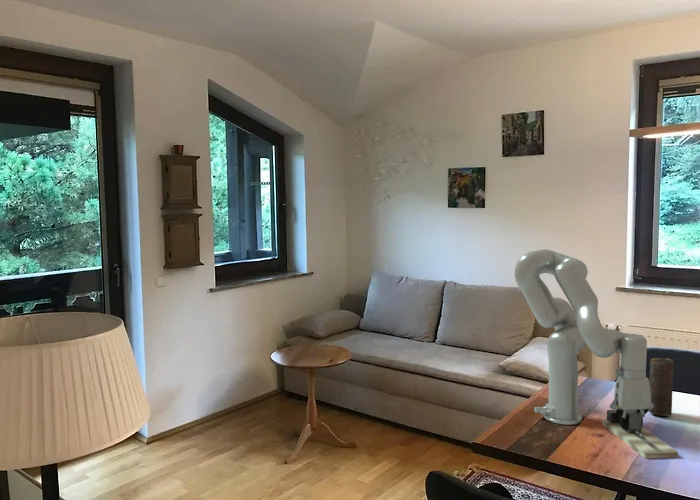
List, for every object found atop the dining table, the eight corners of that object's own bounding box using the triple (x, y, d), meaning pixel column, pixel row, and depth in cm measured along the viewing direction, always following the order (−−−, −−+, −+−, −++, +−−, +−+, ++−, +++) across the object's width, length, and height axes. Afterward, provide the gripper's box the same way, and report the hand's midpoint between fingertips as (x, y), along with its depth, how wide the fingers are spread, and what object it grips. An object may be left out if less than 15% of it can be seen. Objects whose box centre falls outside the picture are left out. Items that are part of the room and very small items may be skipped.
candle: (670, 420, 197) (673, 363, 195) (647, 416, 200) (648, 360, 199) (672, 413, 203) (674, 357, 201) (648, 409, 207) (650, 355, 205)
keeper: (631, 422, 191) (632, 406, 191) (611, 423, 191) (611, 407, 190) (625, 418, 195) (625, 402, 195) (605, 418, 195) (605, 402, 194)
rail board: (677, 457, 169) (678, 451, 169) (644, 458, 169) (645, 453, 168) (630, 422, 195) (630, 418, 195) (601, 423, 194) (601, 419, 194)
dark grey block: (648, 437, 179) (649, 419, 178) (636, 438, 178) (637, 419, 178) (632, 426, 188) (633, 408, 187) (620, 426, 188) (621, 408, 187)
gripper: (613, 377, 180) (611, 433, 181) (665, 376, 180) (663, 432, 182) (601, 370, 187) (600, 424, 189) (651, 368, 188) (649, 422, 189)
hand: (630, 427), depth 185 cm, fingers closed on dark grey block, 4 cm apart
